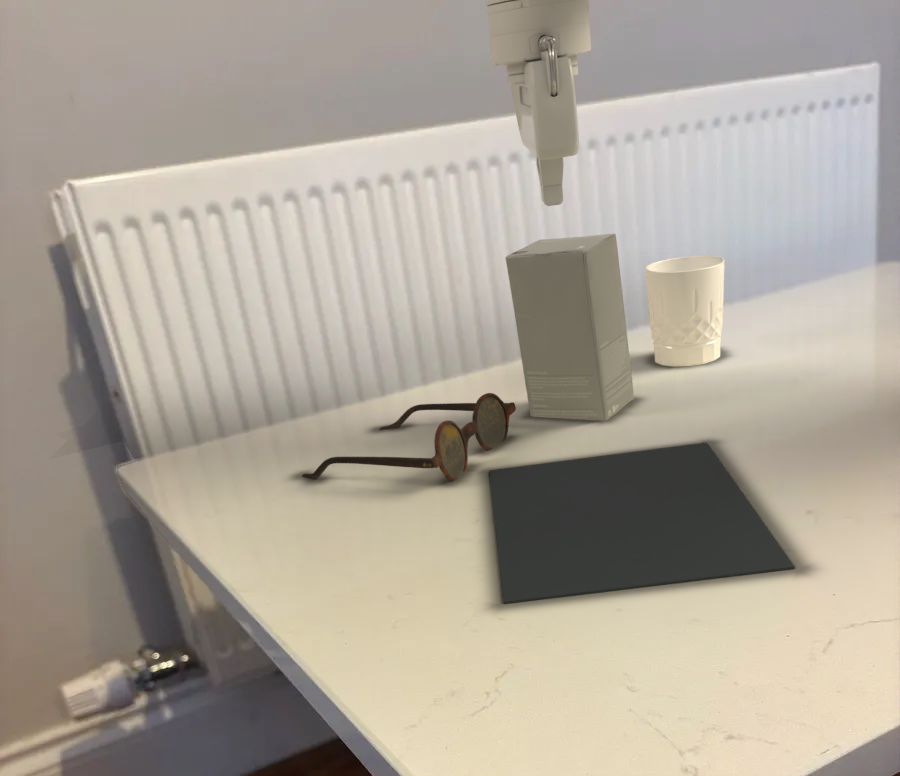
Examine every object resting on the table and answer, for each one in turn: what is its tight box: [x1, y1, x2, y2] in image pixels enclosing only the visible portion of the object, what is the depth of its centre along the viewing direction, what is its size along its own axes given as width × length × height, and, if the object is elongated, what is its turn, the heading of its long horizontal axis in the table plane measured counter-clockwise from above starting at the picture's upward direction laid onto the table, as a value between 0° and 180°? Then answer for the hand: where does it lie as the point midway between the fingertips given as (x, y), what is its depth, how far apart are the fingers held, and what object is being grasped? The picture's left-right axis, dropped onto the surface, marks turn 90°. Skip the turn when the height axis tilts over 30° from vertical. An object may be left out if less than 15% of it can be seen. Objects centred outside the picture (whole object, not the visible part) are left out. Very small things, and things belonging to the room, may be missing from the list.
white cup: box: [644, 255, 726, 367], centre depth 106 cm, size 8×8×10 cm
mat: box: [489, 442, 796, 605], centre depth 74 cm, size 18×24×1 cm
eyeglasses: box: [301, 392, 517, 482], centre depth 91 cm, size 15×15×5 cm
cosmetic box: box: [505, 233, 635, 422], centre depth 94 cm, size 8×7×16 cm
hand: (552, 203), depth 97 cm, fingers closed
